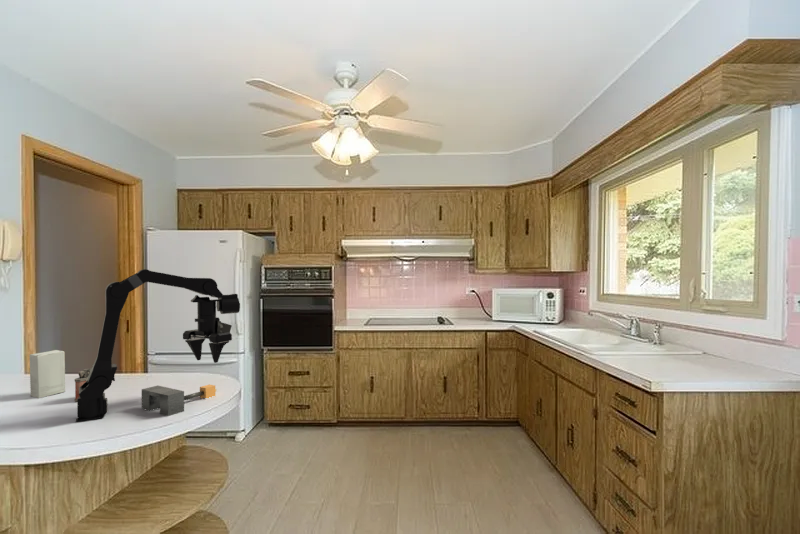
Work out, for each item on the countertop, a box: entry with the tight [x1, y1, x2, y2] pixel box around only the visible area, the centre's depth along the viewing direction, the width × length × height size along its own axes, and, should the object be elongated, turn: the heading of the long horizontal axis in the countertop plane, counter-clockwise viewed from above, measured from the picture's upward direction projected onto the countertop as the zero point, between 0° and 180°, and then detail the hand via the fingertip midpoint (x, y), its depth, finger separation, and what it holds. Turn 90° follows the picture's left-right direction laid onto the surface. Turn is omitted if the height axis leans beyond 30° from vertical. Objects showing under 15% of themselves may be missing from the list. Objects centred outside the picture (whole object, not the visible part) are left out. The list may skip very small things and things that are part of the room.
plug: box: [184, 384, 217, 401], centre depth 138 cm, size 14×3×4 cm, turn 150°
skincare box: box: [29, 349, 66, 399], centre depth 148 cm, size 8×6×15 cm
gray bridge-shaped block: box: [141, 385, 185, 417], centre depth 128 cm, size 5×14×6 cm, turn 60°
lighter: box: [74, 367, 92, 403], centre depth 142 cm, size 8×3×10 cm, turn 168°
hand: (207, 361), depth 142 cm, fingers open, 9 cm apart
